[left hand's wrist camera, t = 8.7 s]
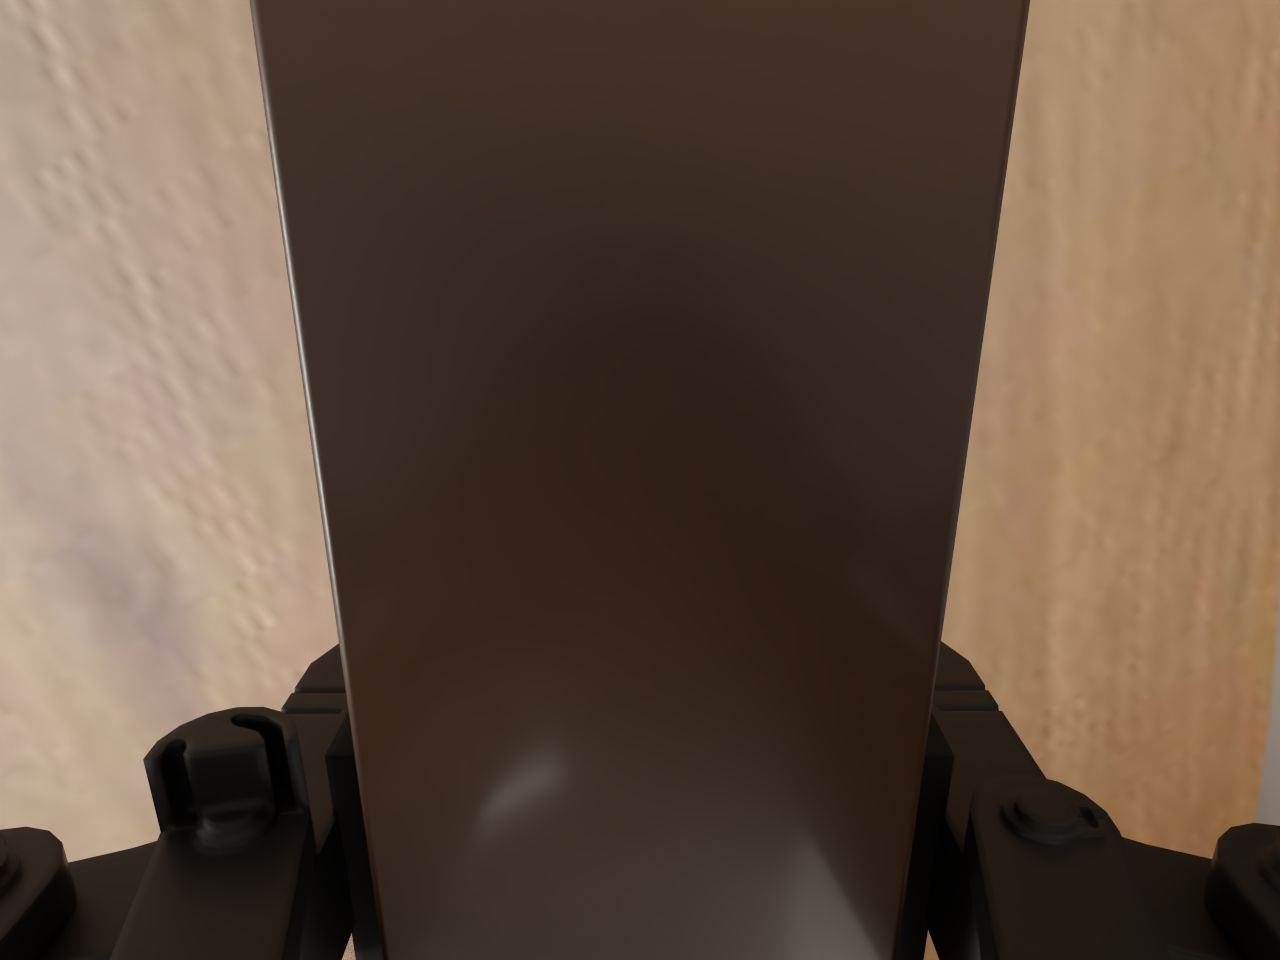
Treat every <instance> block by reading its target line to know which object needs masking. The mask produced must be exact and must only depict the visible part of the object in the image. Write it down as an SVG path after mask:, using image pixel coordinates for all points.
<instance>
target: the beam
mask: <svg viewBox="0 0 1280 960" xmlns="http://www.w3.org/2000/svg"><path fill="white" fill-rule="evenodd" d="M1029 4H1030V0H250V7H251V14H252V22H253V29H254V36H255V43H256V50H257V57H258V65H259V72H260V79H261V86H262V93H263V100H264V108H265V115H266V122H267V129H268V136H269V144H270V151H271V158H272V165H273V172H274V179H275V187H276V194H277V201H278V208H279V215H280V222H281V230H282V237H283V244H284V251H285V258H286V266H287V273H288V280H289V287H290V294H291V301H292V309H293V316H294V323H295V330H296V337H297V344H298V352H299V359H300V366H301V373H302V380H303V388H304V395H305V402H306V409H307V416H308V423H309V431H310V438H311V445H312V452H313V459H314V466H315V474H316V481H317V488H318V495H319V502H320V510H321V517H322V524H323V531H324V538H325V545H326V553H327V560H328V567H329V574H330V581H331V588H332V596H333V603H334V610H335V617H336V624H337V632H338V639H339V646H340V653H341V660H342V667H343V675H344V682H345V689H346V696H347V703H348V710H349V718H350V725H351V732H352V739H353V746H354V754H355V761H356V768H357V775H358V782H359V789H360V797H361V804H362V811H363V818H364V825H365V832H366V840H367V847H368V854H369V861H370V868H371V876H372V883H373V890H374V897H375V904H376V911H377V919H378V926H379V933H380V940H381V947H382V954H383V960H896V959H897V952H898V945H899V938H900V930H901V923H902V916H903V909H904V902H905V895H906V887H907V880H908V873H909V866H910V859H911V851H912V844H913V837H914V830H915V823H916V816H917V808H918V801H919V794H920V787H921V780H922V773H923V765H924V758H925V751H926V744H927V737H928V729H929V722H930V715H931V708H932V701H933V694H934V686H935V679H936V672H937V665H938V658H939V650H940V643H941V636H942V629H943V622H944V615H945V607H946V600H947V593H948V586H949V579H950V572H951V564H952V557H953V550H954V543H955V536H956V528H957V521H958V514H959V507H960V500H961V493H962V485H963V478H964V471H965V464H966V457H967V449H968V442H969V435H970V428H971V421H972V414H973V406H974V399H975V392H976V385H977V378H978V371H979V363H980V356H981V349H982V342H983V335H984V327H985V320H986V313H987V306H988V299H989V292H990V284H991V277H992V270H993V263H994V256H995V249H996V241H997V234H998V227H999V220H1000V213H1001V205H1002V198H1003V191H1004V184H1005V177H1006V170H1007V162H1008V155H1009V148H1010V141H1011V134H1012V126H1013V119H1014V112H1015V105H1016V98H1017V91H1018V83H1019V76H1020V69H1021V62H1022V55H1023V48H1024V40H1025V33H1026V26H1027V19H1028V12H1029Z"/></svg>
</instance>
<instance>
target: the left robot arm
mask: <svg viewBox="0 0 1280 960" xmlns="http://www.w3.org/2000/svg"><path fill="white" fill-rule="evenodd" d="M281 710H282V711H281V712H280V711H276V710H273V709H269V708H265V707H236V708H232V709H227V710H223V711H218V712H214V713H209V714H206V715H204V716H201V717H199V718H197V719H194V720H192V721H190V722H187V723H185V724H183V725H180V726H179V727H177V728H176V729H175V730H173V731H172V732H170V733H169V734H167V735H166V736H164V737H163V738H162V739H160V740H159V741H157V743H156V744H155V745H154V746H153V748H152V749H151V750H150V751H149V753H148V754H147V755H146V756H145V758H144V759H143V761H144V765H145V769H146V773H147V777H148V781H149V785H150V789H151V794H152V798H153V802H154V806H155V810H156V814H157V818H158V822H159V827H160V831H161V833H160V836H159V838H158V841H155V842H152V843H148V844H145V845H142V846H138V847H135V848H131V849H127V850H123V851H118V852H114V853H109V854H105V855H101V856H96V857H92V858H87V859H83V860H79V861H74V862H70V863H68V861H67V858H66V855H65V851H64V848H63V844H62V842H61V841H60V840H59V839H58V838H56V837H55V836H54V835H53V834H52V833H51V832H50V831H47V830H41V829H36V828H30V827H20V828H12V829H3V830H0V960H342V957H343V955H344V952H345V949H346V947H347V944H348V941H349V938H350V936H351V933H352V937H353V944H354V950H355V957H356V960H383V954H382V947H381V940H380V933H379V926H378V919H377V911H376V904H375V897H374V890H373V883H372V876H371V868H370V861H369V854H368V847H367V840H366V832H365V825H364V818H363V811H362V804H361V797H360V789H359V782H358V775H357V768H356V761H355V754H354V746H353V739H352V732H351V725H350V718H349V710H348V703H347V696H346V689H345V682H344V675H343V667H342V660H341V653H340V646H339V644H338V645H336V646H335V647H333V648H332V649H331V650H329V651H328V652H326V653H325V654H324V655H322V656H321V657H320V658H318V659H317V660H315V661H314V662H313V663H311V664H310V666H309V667H308V669H307V670H306V672H305V673H304V675H303V677H302V678H301V680H300V681H299V683H298V684H297V686H296V687H295V693H291V695H290V696H289V698H288V699H287V701H286V703H285V704H284V706H283V707H282V709H281ZM928 931H929V933H930V936H931V939H932V941H933V944H934V947H935V949H936V952H937V955H938V957H939V960H1280V826H1276V825H1267V824H1259V823H1251V824H1246V825H1240V826H1234V827H1231V828H1230V829H1228V830H1227V831H1226V832H1225V833H1224V834H1223V835H1222V836H1221V837H1220V838H1218V842H1217V845H1216V848H1215V852H1214V855H1213V859H1209V858H1204V857H1200V856H1196V855H1191V854H1187V853H1182V852H1178V851H1173V850H1169V849H1164V848H1160V847H1156V846H1151V845H1147V844H1144V843H1140V842H1137V841H1133V840H1130V839H1127V838H1123V837H1121V834H1120V832H1119V830H1118V829H1117V827H1116V826H1115V824H1114V823H1113V821H1112V820H1111V818H1110V817H1109V815H1108V814H1107V812H1106V811H1105V810H1103V809H1102V808H1101V807H1100V806H1098V805H1097V804H1096V803H1094V802H1093V801H1092V800H1091V799H1089V798H1088V797H1087V796H1086V795H1084V794H1082V793H1080V792H1078V791H1076V790H1074V789H1072V788H1070V787H1068V786H1066V785H1064V784H1062V783H1059V782H1057V781H1053V780H1049V779H1046V777H1045V776H1044V774H1043V773H1042V771H1041V770H1040V768H1039V767H1038V765H1037V764H1036V762H1035V761H1034V759H1033V758H1032V756H1031V755H1030V753H1029V751H1028V750H1027V748H1026V747H1025V745H1024V744H1023V742H1022V741H1021V739H1020V738H1019V736H1018V735H1017V733H1016V732H1015V730H1014V729H1013V727H1012V726H1011V724H1010V723H1009V721H1008V720H1007V718H1006V717H1005V715H1004V714H1003V712H1002V711H999V709H998V704H997V703H996V701H995V700H994V698H993V697H992V695H991V694H990V692H989V691H988V690H985V685H984V683H983V682H982V680H981V679H980V677H979V676H978V674H977V673H976V671H975V670H974V668H973V666H972V665H971V663H970V662H969V661H968V660H967V659H965V658H964V657H963V656H961V655H960V654H958V653H957V652H956V651H954V650H953V649H951V648H950V647H949V646H947V645H946V644H944V643H943V642H942V641H941V643H940V650H939V658H938V665H937V672H936V679H935V686H934V694H933V701H932V708H931V715H930V722H929V729H928V737H927V744H926V751H925V758H924V765H923V773H922V780H921V787H920V794H919V801H918V808H917V816H916V823H915V830H914V837H913V844H912V851H911V859H910V866H909V873H908V880H907V887H906V895H905V902H904V909H903V916H902V923H901V930H900V938H899V945H898V952H897V959H896V960H923V959H924V952H925V946H926V939H927V933H928Z"/></svg>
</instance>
